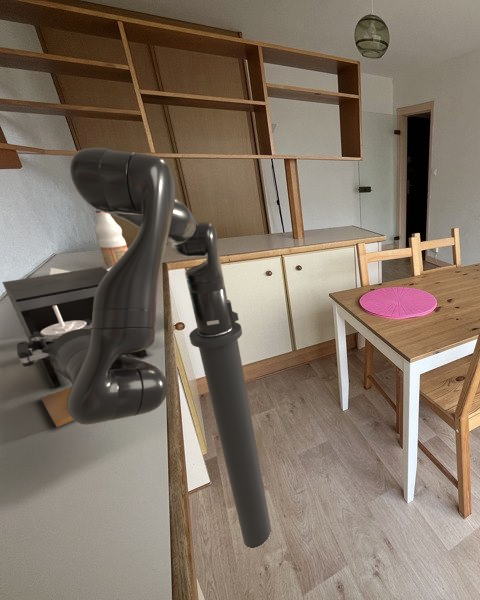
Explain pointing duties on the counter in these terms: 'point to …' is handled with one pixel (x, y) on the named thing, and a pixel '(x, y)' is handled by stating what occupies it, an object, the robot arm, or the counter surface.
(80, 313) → the shelf
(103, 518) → the counter surface
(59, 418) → the board
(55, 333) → the smoothie
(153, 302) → the robot arm
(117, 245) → the fruit juice
